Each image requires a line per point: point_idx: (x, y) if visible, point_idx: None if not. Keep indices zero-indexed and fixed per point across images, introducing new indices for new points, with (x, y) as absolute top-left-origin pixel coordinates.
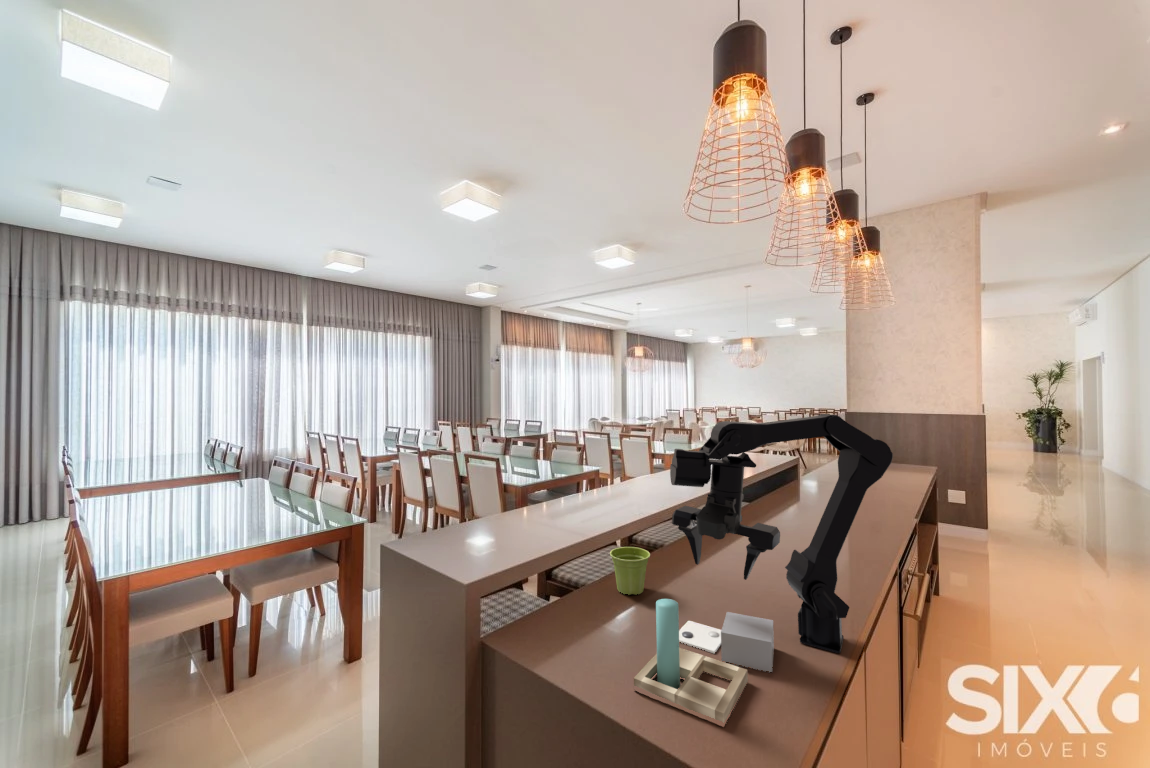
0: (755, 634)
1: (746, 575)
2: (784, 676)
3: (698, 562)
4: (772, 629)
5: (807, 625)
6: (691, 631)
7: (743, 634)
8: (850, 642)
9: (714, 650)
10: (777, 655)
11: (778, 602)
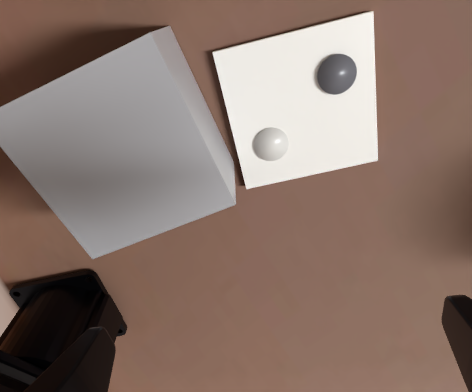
0: (52, 127)
1: (69, 352)
2: None
3: (449, 318)
4: (50, 206)
5: (70, 317)
6: (337, 107)
7: (79, 91)
8: None
9: (215, 57)
10: None
11: (237, 380)
